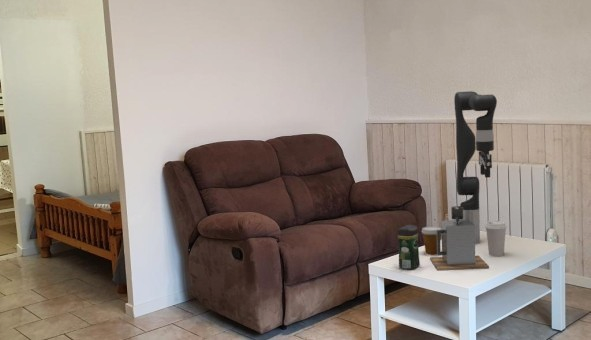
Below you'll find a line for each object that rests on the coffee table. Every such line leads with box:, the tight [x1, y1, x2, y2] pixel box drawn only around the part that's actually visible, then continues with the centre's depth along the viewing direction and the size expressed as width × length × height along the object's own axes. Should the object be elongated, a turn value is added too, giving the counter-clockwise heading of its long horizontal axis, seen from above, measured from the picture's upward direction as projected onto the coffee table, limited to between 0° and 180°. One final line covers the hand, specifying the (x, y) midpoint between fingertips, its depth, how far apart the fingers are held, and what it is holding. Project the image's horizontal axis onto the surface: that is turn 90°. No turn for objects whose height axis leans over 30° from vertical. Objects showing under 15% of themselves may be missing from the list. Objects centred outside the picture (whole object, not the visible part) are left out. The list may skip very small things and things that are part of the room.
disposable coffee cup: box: [421, 226, 442, 256], centre depth 292 cm, size 10×10×12 cm
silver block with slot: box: [436, 219, 476, 266], centre depth 272 cm, size 12×15×18 cm
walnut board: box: [429, 255, 490, 271], centre depth 273 cm, size 18×22×1 cm
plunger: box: [450, 205, 463, 223], centre depth 271 cm, size 8×8×20 cm
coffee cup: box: [484, 220, 508, 257], centre depth 284 cm, size 10×10×15 cm
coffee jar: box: [397, 224, 421, 270], centre depth 271 cm, size 10×8×19 cm
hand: (485, 175), depth 276 cm, fingers open, 8 cm apart
